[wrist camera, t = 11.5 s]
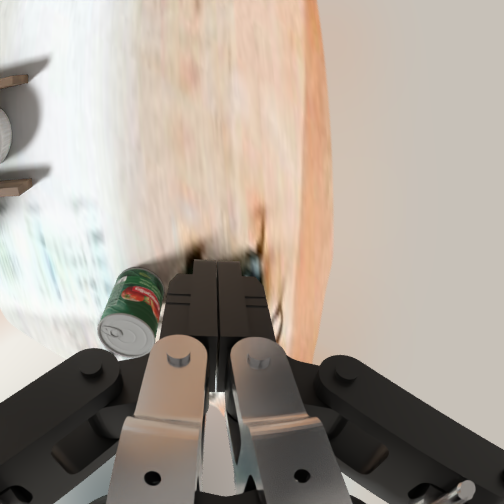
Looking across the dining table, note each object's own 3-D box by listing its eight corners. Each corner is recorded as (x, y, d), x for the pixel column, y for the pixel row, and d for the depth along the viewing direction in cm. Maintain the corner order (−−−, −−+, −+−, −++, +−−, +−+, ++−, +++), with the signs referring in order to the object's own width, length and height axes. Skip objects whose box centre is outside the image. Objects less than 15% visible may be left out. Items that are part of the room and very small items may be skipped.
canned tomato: (170, 277, 47) (162, 326, 38) (157, 314, 50) (148, 364, 41) (121, 260, 45) (101, 306, 35) (111, 299, 48) (94, 347, 38)
